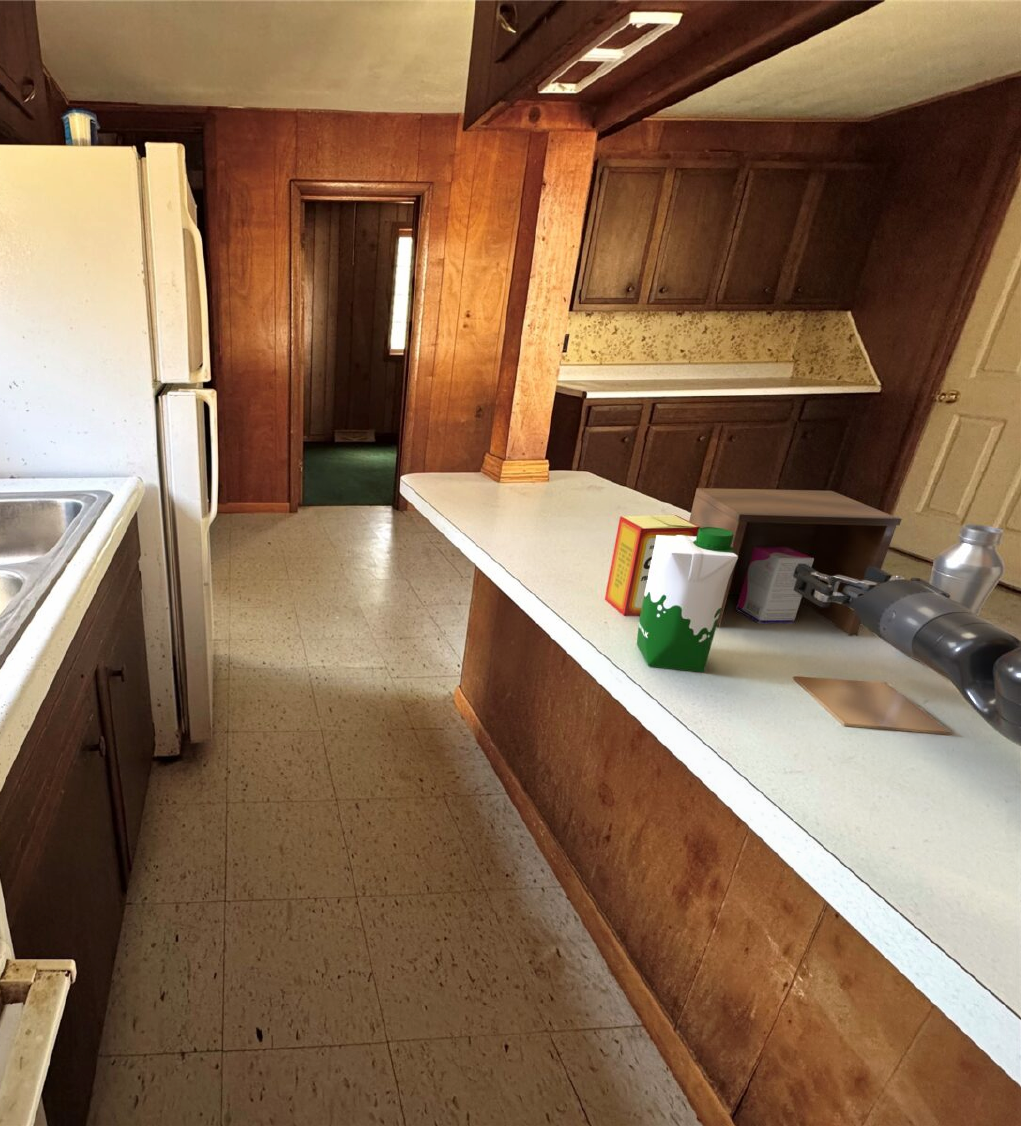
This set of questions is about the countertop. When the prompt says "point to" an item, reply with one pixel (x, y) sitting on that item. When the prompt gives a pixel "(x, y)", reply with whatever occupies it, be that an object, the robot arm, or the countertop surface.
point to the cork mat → (869, 705)
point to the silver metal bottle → (970, 566)
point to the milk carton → (684, 598)
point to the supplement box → (772, 585)
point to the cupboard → (800, 535)
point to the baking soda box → (638, 557)
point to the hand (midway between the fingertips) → (833, 571)
